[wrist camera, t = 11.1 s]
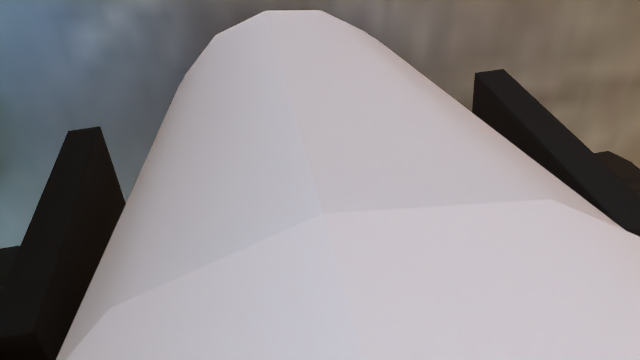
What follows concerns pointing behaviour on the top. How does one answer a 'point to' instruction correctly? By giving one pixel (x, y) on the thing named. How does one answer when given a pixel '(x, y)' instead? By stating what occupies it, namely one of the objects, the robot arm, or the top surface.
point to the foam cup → (348, 222)
